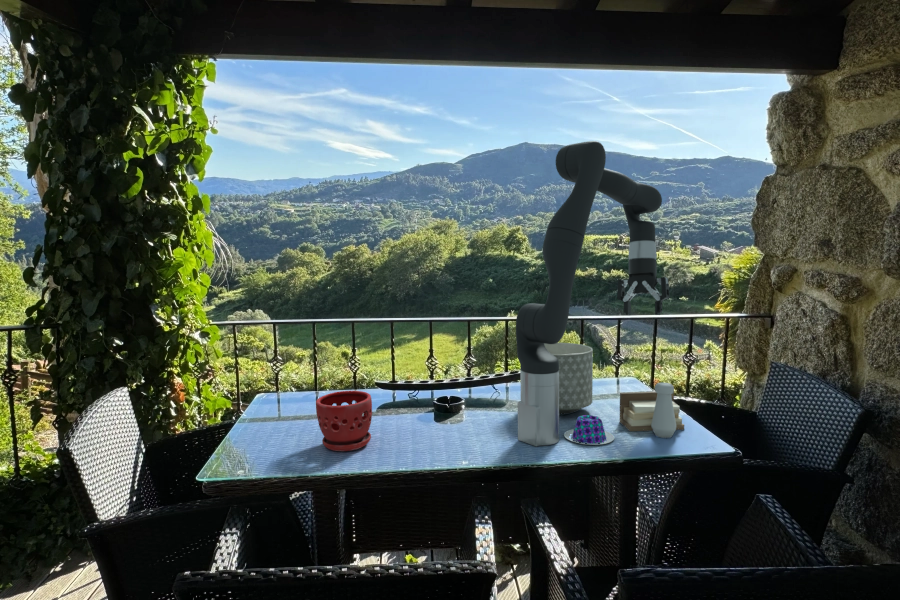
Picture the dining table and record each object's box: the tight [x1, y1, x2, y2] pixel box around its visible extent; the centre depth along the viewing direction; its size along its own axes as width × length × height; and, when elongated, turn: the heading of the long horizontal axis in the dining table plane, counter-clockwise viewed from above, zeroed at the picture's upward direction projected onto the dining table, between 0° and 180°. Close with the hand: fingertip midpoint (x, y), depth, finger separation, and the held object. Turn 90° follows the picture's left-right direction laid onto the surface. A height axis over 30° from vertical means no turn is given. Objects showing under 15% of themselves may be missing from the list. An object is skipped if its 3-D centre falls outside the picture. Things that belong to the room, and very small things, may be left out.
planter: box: [544, 342, 594, 416], centre depth 158 cm, size 19×19×18 cm
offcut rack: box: [619, 391, 685, 432], centre depth 143 cm, size 8×14×8 cm, turn 92°
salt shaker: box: [651, 382, 677, 439], centre depth 136 cm, size 6×6×13 cm
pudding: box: [563, 414, 615, 446], centre depth 135 cm, size 12×12×5 cm
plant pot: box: [315, 390, 373, 452], centre depth 133 cm, size 13×13×12 cm
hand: (642, 314), depth 157 cm, fingers open, 8 cm apart
